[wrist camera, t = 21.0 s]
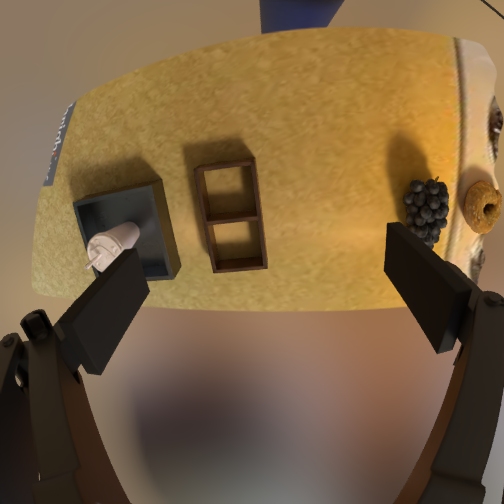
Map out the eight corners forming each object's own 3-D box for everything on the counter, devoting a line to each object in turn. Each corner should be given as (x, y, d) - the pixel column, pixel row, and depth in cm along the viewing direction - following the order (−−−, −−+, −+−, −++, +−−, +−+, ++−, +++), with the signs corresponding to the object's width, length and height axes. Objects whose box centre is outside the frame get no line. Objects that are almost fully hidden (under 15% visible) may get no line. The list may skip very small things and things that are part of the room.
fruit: (444, 276, 38) (460, 184, 32) (398, 273, 41) (407, 178, 35) (435, 252, 45) (445, 172, 39) (394, 249, 48) (400, 168, 42)
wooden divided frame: (255, 157, 42) (254, 160, 38) (267, 259, 48) (267, 269, 45) (198, 165, 42) (193, 168, 39) (216, 263, 49) (213, 273, 46)
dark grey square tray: (162, 178, 43) (151, 184, 39) (181, 266, 50) (174, 279, 46) (86, 195, 45) (72, 202, 41) (109, 272, 51) (98, 284, 47)
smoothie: (116, 210, 45) (70, 241, 33) (148, 218, 46) (109, 254, 33) (113, 243, 48) (72, 281, 35) (144, 252, 48) (109, 295, 36)
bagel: (492, 228, 43) (505, 237, 39) (455, 229, 44) (469, 239, 40) (498, 181, 39) (513, 187, 35) (461, 178, 40) (476, 184, 36)
